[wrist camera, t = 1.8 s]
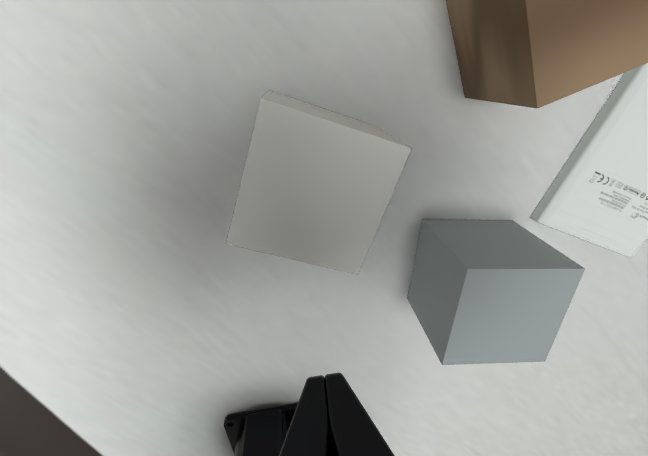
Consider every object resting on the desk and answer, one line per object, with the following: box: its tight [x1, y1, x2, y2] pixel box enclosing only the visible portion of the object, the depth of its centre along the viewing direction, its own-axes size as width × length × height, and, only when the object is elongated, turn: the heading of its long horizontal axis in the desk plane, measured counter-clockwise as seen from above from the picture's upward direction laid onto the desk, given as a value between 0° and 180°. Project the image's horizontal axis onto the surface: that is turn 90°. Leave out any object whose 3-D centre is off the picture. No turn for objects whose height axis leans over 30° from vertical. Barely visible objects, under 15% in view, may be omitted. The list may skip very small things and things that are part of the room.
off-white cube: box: [226, 90, 412, 275], centre depth 16 cm, size 6×6×6 cm
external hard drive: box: [530, 63, 648, 257], centre depth 20 cm, size 2×8×12 cm
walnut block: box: [446, 0, 648, 108], centre depth 14 cm, size 6×6×6 cm
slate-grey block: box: [407, 219, 585, 365], centre depth 20 cm, size 6×6×6 cm
